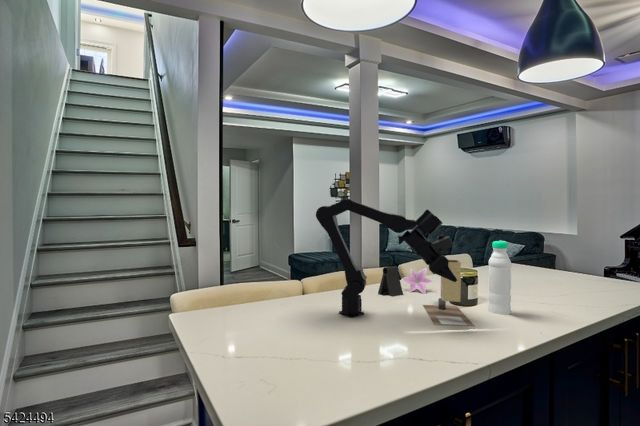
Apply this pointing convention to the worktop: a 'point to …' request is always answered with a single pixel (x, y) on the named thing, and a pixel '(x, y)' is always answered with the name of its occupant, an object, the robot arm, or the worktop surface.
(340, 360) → the worktop surface
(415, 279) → the lily
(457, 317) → the shaft board
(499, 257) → the water bottle
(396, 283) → the phone stand
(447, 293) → the sleeve
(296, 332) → the worktop surface
